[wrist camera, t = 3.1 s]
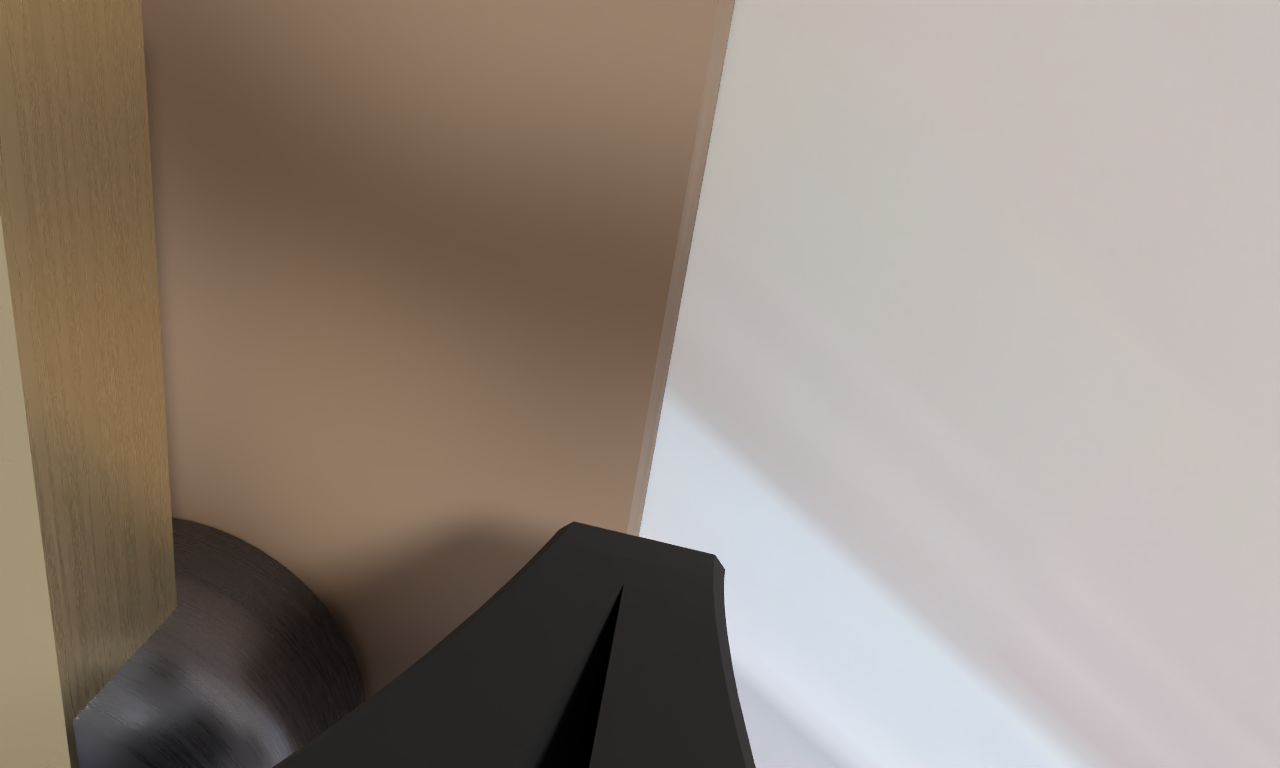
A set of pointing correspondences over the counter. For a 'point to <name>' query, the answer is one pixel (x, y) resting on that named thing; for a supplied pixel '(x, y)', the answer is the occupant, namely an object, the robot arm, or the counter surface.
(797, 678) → the counter surface
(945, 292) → the counter surface
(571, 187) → the brown knob panel
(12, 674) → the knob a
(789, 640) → the counter surface
